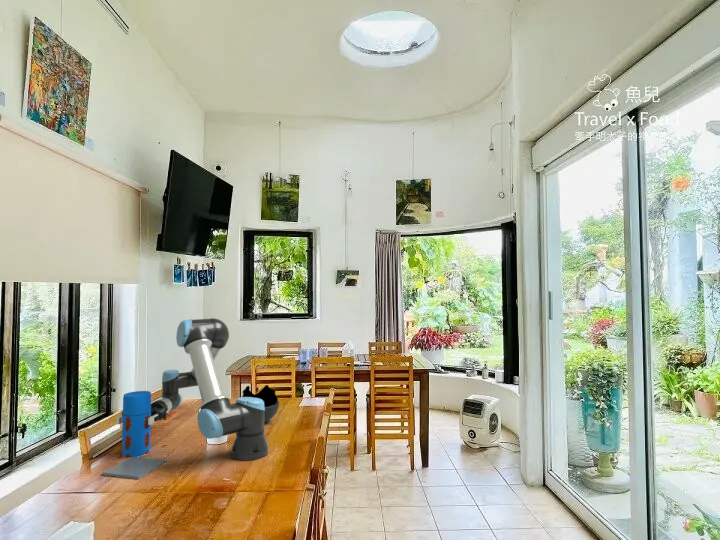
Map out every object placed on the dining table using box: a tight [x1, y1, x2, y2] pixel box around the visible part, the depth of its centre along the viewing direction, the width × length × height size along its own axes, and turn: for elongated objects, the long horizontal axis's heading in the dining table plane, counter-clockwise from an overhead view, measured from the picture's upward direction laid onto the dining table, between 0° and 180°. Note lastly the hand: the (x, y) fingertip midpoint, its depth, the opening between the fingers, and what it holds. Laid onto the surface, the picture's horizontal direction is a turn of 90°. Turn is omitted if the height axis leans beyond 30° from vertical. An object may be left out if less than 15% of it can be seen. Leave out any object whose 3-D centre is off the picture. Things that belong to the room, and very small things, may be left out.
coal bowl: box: [241, 384, 280, 423], centre depth 228 cm, size 20×20×19 cm
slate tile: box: [101, 456, 169, 480], centre depth 169 cm, size 16×16×1 cm
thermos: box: [121, 390, 152, 458], centre depth 186 cm, size 11×11×25 cm
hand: (133, 421), depth 184 cm, fingers open, 13 cm apart
